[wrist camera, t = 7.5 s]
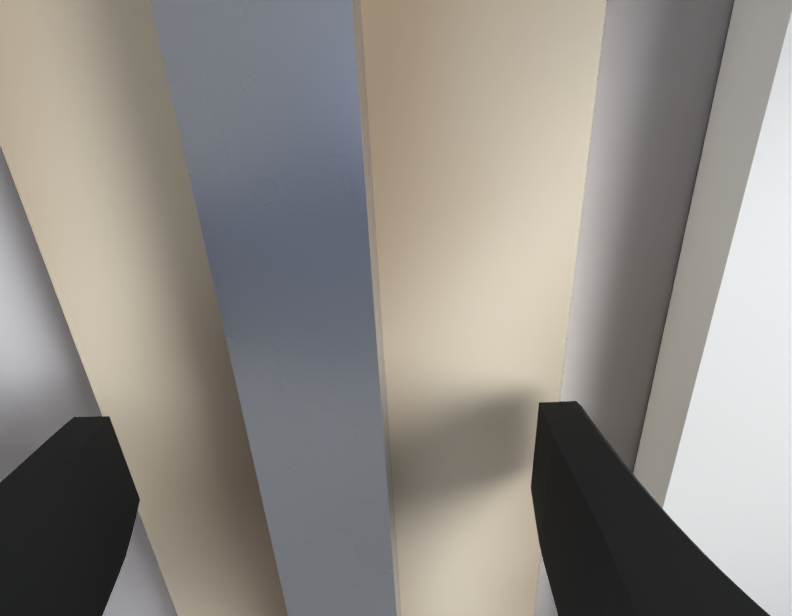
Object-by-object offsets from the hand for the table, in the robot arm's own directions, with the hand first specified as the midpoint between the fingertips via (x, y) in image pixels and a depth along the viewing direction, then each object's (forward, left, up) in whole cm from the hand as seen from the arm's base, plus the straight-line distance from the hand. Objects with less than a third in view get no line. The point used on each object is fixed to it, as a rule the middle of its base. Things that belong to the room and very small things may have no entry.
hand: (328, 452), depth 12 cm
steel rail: (0, 0, -1) cm, 1 cm away
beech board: (0, 0, -2) cm, 2 cm away
